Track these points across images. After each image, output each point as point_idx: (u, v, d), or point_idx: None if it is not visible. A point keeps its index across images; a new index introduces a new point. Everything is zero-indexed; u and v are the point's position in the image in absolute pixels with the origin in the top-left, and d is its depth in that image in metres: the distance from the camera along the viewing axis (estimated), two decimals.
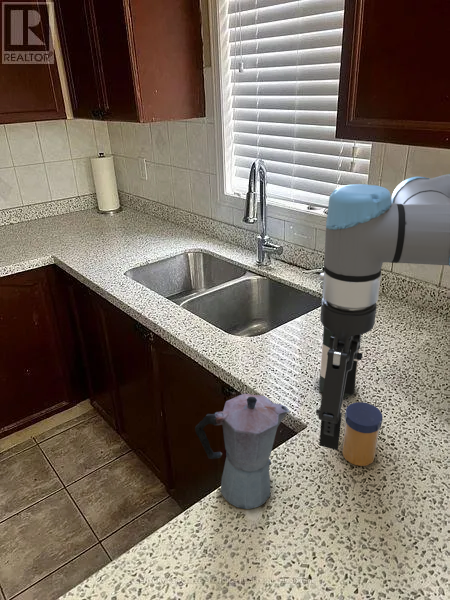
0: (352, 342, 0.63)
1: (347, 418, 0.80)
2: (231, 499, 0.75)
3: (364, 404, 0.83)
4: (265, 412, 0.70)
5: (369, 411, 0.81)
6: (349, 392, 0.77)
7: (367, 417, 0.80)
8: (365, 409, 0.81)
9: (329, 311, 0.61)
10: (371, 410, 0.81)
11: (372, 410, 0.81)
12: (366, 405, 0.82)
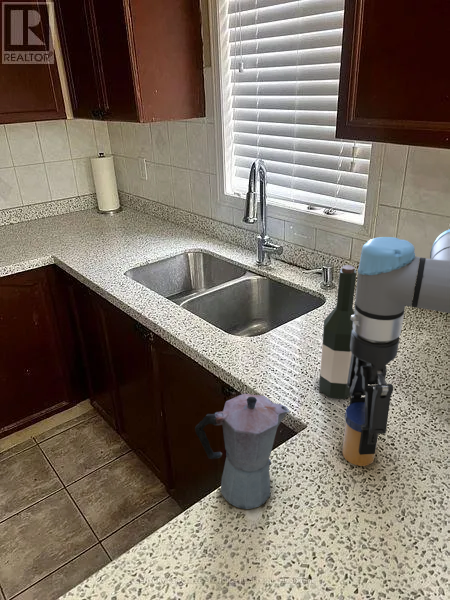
0: None
1: (347, 418, 0.80)
2: (231, 499, 0.75)
3: (364, 404, 0.83)
4: (265, 412, 0.70)
5: None
6: None
7: None
8: None
9: (369, 346, 0.70)
10: None
11: None
12: None
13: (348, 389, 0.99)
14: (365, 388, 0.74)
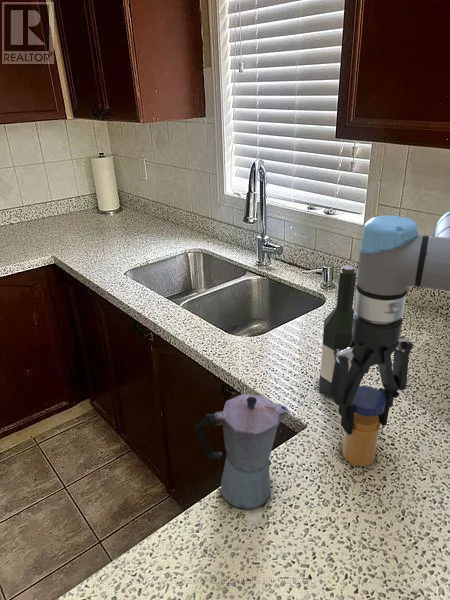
0: None
1: (356, 407, 0.77)
2: (231, 499, 0.75)
3: (360, 388, 0.81)
4: (265, 412, 0.70)
5: (369, 393, 0.80)
6: None
7: (372, 399, 0.78)
8: (365, 392, 0.80)
9: (402, 320, 0.71)
10: (370, 391, 0.80)
11: (371, 391, 0.80)
12: (363, 388, 0.81)
13: None
14: (391, 363, 0.75)
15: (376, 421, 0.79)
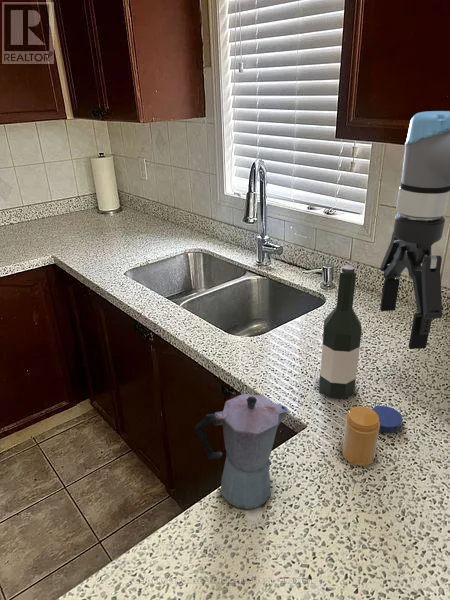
0: (403, 245, 0.77)
1: (397, 427, 0.89)
2: (231, 499, 0.75)
3: None
4: (265, 412, 0.70)
5: (380, 412, 0.92)
6: None
7: (389, 413, 0.92)
8: (379, 415, 0.92)
9: None
10: (378, 411, 0.93)
11: (378, 411, 0.93)
12: None
13: (348, 389, 0.99)
14: None
15: (376, 421, 0.79)
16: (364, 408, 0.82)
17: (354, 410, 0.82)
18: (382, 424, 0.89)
